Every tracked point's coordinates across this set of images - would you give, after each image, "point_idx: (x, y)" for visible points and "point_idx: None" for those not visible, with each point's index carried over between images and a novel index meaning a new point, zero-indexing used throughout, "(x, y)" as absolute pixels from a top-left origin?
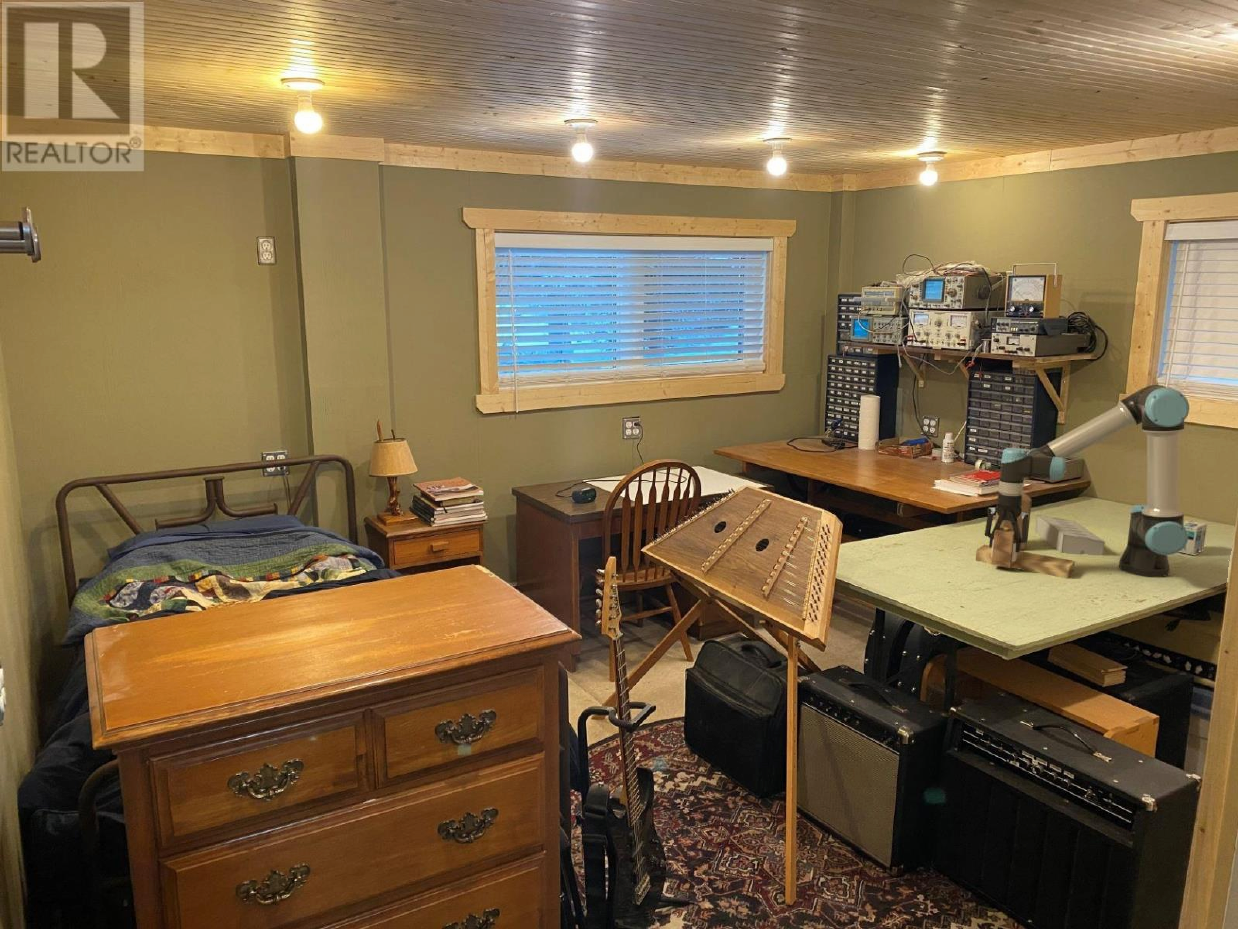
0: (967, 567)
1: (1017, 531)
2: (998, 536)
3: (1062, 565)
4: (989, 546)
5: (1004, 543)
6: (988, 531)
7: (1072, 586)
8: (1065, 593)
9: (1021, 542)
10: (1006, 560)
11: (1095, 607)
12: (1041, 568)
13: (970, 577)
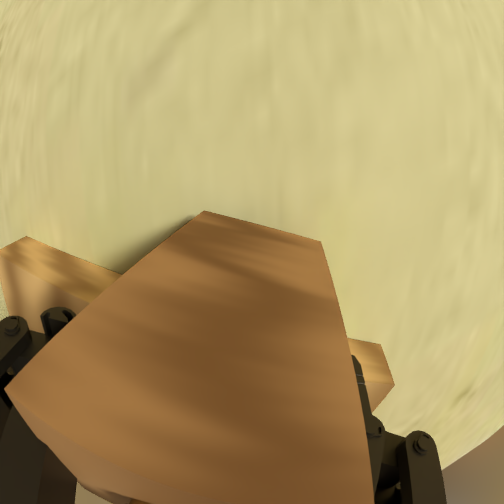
0: (438, 206)
1: (4, 438)
2: (293, 417)
3: (7, 262)
4: (357, 360)
5: (201, 318)
6: (412, 482)
7: (10, 144)
8: (30, 47)
9: (43, 336)
10: (215, 230)
11: (10, 6)
12: (76, 272)
13: (409, 22)
